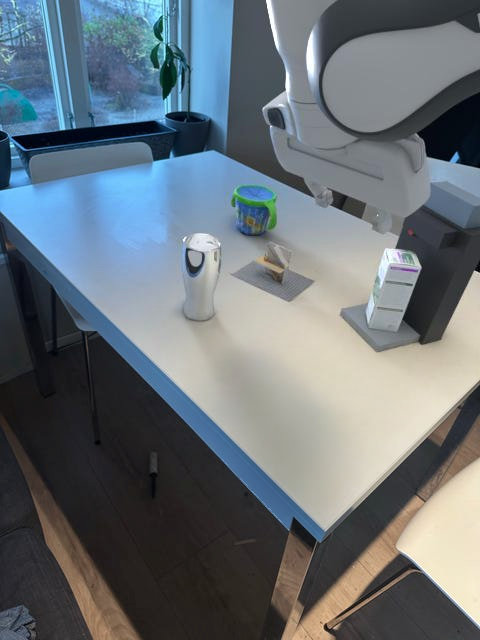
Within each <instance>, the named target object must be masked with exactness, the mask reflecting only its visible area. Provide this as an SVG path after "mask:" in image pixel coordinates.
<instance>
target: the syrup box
mask: <svg viewBox="0 0 480 640" xmlns="http://www.w3.org/2000/svg"><path fill="white" fill-rule="evenodd" d="M420 270H421V265H420V263H419V260H418V258H417V256H416V253H415V252H412V251H407V250H401V249H395V248H387V247H386V248H385V249H384V251H383V254H382V257H381V260H380V264H379V267H378V270H377V272H376V276H375V279H374V283H373V285H372V289H371V292H370V295H369V298H368V301H367V303H368V304H367V303H366V304H367V307H366V311H365V313H366V318H367V323H368V328H371V329H376V330H382V331H390V332H397V331H398V328H399V326H400V323H401V321H402V318H403V316H404V313H405V310H406V308H407V305H408V302H409V300H410V297H411V294H412V292H413V289H414V286H415V284H416V281H417V278H418V276H419V273H420Z"/></svg>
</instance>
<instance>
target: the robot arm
mask: <svg viewBox="0 0 480 640" xmlns="http://www.w3.org/2000/svg"><path fill="white" fill-rule="evenodd" d="M266 5H267V11H268V16H269V21H270V26H271V31H272V36H273V40H274V44H275V48H276V50H277V53H278V54H279V56H280V58H281V60H282V62H283V65H284V69H285V90H284V91H283V92H281V93H280V94H279V95H277V96H276V97H275V98H273V99H272V100H271V101H269V102H268V103H267V104H266V105H264V106H263V108H262V115H263V117H264V120H265V123H266V124H267V125H268V126H269V134H270V138H271V142H272V146H273V150H274V154H275V157H276V159H277V161H278V163H279V164H280V166H281V168H282V169H283V170H284V171H285V172H287V173H290V174H292V175H295V176H298V177H300V178H303V181H304V183H305V185H306V186H307V188H308V189H309V191H310V193H311V194H312V195H313V198H314V202H315V205H316V206H318V207H321V208H323V209H327V208H328V207H329V206H331V205H332V204H333V202H334V197H333V191H335V192H337V193H340V194H342V195H345V196H347V197H350V198H352V199H354V200H357V201H359V202H362V203H365V204H367V205H370V206H372V207H374V208H376V213H377V215H375V216H374V217H373V218H371V219H370V224H371V229H372V231H374V232H376V233H379V234H381V235H385V234H386V233H388V232H389V231H390V230H391V229H392V227H393V215H394V216H397V217H399V218H404V219H405V217H407V216H409V215H411V214H412V213H413V212H415V211H416V210H417V209H419V208H420V207H421V206H422V205H423V204H424V203H425V202H426V201H427V200H428V199H429V197H430V183H431V177H430V170H429V163H428V157H427V153H426V144H425V141H424V139H423V138H422V137H420V136H419V135H418V133H419V132H420V131H422V130H423V129H424V128H426V127H427V126H429V125H431V124H432V123H433V122H434V121H435V120H437V119H439V117H440V116H442V115H443V114H444V113H446V112H448V111H449V110H450V109H451V108H453V107H455V106H456V105H458V104H460V103H461V102H462V101H464V100H466V99H468V98H470V97H472V96H475V95H476V94H478V93H480V0H266Z"/></svg>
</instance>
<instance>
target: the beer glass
mask: <svg viewBox="0 0 480 640" xmlns="http://www.w3.org/2000/svg"><path fill="white" fill-rule="evenodd" d="M222 243H223V242H222V240H221V239H220V238H219V237H217V236H216V235H214V234H209V233H205V232H204V233H203V232H196V233H191V234H188V235H186V236H185V237H184V239H183V245H182V254H181V272H182V281H183V286H184V292H185V294H184V295H185V297H184V302H183V305H182V306H183V307H182V314H183V316H185V317H186V318H187V319H189V320H192V321H196V322H197V321H198V322H203V321H207V320H209V319H212V318H213V317H214V315H215V312H216V311H215V303H214V299H215V298H214V296H215V291H216V288H217V286H218V285H217V284H218V282H219V278H220V274H221V269H222Z"/></svg>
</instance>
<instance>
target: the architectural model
mask: <svg viewBox="0 0 480 640" xmlns="http://www.w3.org/2000/svg"><path fill="white" fill-rule="evenodd" d="M291 256H292V250H291V249H288V248H286V247H285V246H282V245H279V244H277V243H275V242H272V241H269V242H268V245H267V253H265V254H264V255H260V256H258V257H256V258H255V259H254V260H252V261H251V262H249V263H247V264H245V265H244V266H243V267H240V268H239V269H237V270H236V271H234V272H233V273H231V274H230V275H231V276H233V277H236V278H237V279H240V280H242V281H244V282H245V283H248V284H250V285H252V286H255V287H257V288H259V289H260V290H263V291H264V292H267V293H269V294H271V295H273V296H276V297H278V298H280V299H282V300H284V301H285V302H288V303H290V302H291V301H293V300H294V299H296V297H298V296H299V295H300V294H301V293H303V292H304V291H305V290H306V289H307V288H309V287H310V286H311V285H313V284H314V283H315V282H316V280H314V279H312V278H310V277H307V276H305V275H303V274H300V273H298V272H295V271H294V270H291V269H289V268H290V261H291Z"/></svg>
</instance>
